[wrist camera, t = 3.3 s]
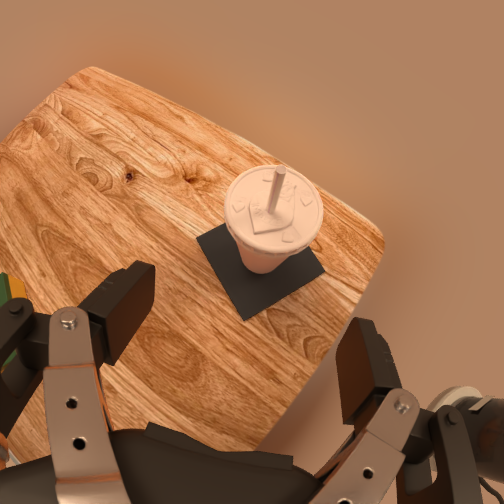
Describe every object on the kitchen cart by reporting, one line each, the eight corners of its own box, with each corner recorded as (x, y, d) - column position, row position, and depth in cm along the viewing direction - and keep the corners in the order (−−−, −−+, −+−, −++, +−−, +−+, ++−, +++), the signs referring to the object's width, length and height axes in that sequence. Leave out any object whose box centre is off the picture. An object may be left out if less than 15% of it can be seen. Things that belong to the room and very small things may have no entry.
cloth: (325, 271, 27) (325, 271, 26) (243, 321, 25) (243, 320, 24) (275, 198, 29) (275, 197, 29) (196, 238, 27) (195, 237, 27)
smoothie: (212, 262, 26) (193, 174, 13) (251, 211, 28) (266, 103, 15) (271, 301, 25) (313, 247, 12) (306, 246, 27) (365, 157, 14)
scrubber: (45, 355, 22) (22, 354, 18) (14, 373, 20) (-8, 372, 16) (23, 281, 24) (2, 271, 20) (-5, 302, 22) (-26, 295, 19)
